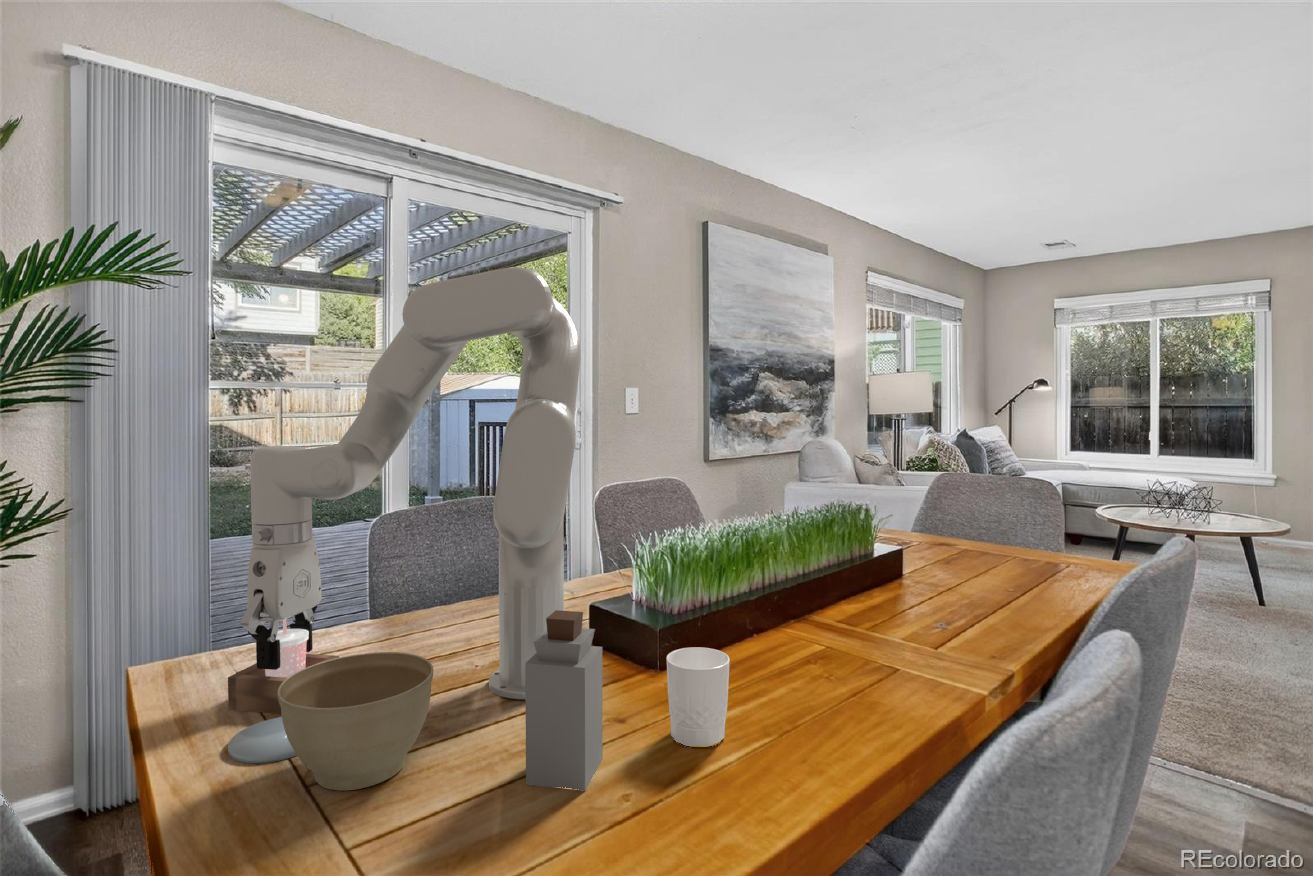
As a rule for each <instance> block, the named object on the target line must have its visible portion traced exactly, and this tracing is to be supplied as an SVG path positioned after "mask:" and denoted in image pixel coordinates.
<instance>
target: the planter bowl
mask: <svg viewBox="0 0 1313 876" xmlns="http://www.w3.org/2000/svg"><path fill="white" fill-rule="evenodd" d="M433 678H434V665H433V664H432V662H431V661H430V660H428V659H427V658H425V657H423V656H420V655H418V654H417V655H416V654H414V653H407V652H397V651H381V652H379V651H378V652H368V653H359V654H350V655H345V656H339V658H335V659H331V660H327V661H324V662H320V663H317V664H315V665H312V666H309V667H307V668H304V669H302V670H300V671H298V672H296V673H294V674H293V675H291V676H290V677H288V678H287V679H286V680H284V681H283V682H282V683H281V685H280V686H279V688H278V701H279V704H280V706H281V715H280V716H281V717H282V721H283V725H284V729H285V733H286V735H287V738H288V740H289V742H290V744H291V746H292V748H293V749H294V751H295V753H296V754H297V755H298V756H297V757H298V758H299V759H300V761H301V762H302V763H303V764H304V765H305V766H306V767H307V768H308V770H309V769H310V771H312V772H313V775H314V778H315V782H317V784H318V785H320V786H321V787H323V788H324V789H327V790H332V791H353V790H361V789H364V788H365V789H366V788H369V787H371V786H375V785H377V784H378V785H379V784H380V783H383V782H385V781H387V780H389V779H390V778H392V777H394V776H395V775H396V774H398V773H399V772H400V771H401V770H402V769H403V768H404V766H405V764H406V761H407V754H408V753H409V751H410V750H411V749H412V747H413V745H414V743H415V742H416V741H417V739H418V736H419V735H420V733H421V731H422V729H423V726H424V724H425V720H426V718H427V715H428V712H429V707H430V705H431V704H430V703H431V695H432V682H433Z"/></svg>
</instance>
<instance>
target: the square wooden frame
mask: <svg viewBox="0 0 1313 876" xmlns="http://www.w3.org/2000/svg"><path fill="white" fill-rule="evenodd" d="M339 657H340V655H329V654H315V653H314V654H312V653H306V666H305V668H307V667H309V666H312V665H315V664H317V663H320V662H324V661H327V660H331V659H335V658H339ZM286 679H287V677H271V676H266V673H265V669H258V668H257V662H255V663H254V664H251V665H250V666H247V667H246V668H244V669H242V670H240V671H238V672H236V673H234V674H231V675H230V676H228V677H227V695H228V697H227V698H228V699H227V700H228V704H227V705H228V711H236V712H237V711H238V712H251V713H265V714H281V706H280V704H279V701H278V688H279V686H280V685H281V683H282V682H283V681H284V680H286Z"/></svg>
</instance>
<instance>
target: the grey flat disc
mask: <svg viewBox="0 0 1313 876" xmlns="http://www.w3.org/2000/svg"><path fill="white" fill-rule="evenodd" d="M227 746H228V756H229V757H230V758H231V759H233V760H235V761H237V762H239V763H240V762H241V763H246V764H263V763H274V762H279V761H284V760H288V759H291V758H295V757H298V755H297V754H296V753H295V751H294V749H293V748H292V746H291V744H290V742H289V740H288V738H287V735H286V733H285V729H284V725H283V721H282V716H280V717H275V718H270V719H266V720H263V721H260V722H258V723H254V724H252V725H250V726H247V727H246V728H244V729H242V730H240V731H239V732H237V733H236V734H235V735H233V736H232V737H231V739H230V740H229V741H228V744H227Z"/></svg>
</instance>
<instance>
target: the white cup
mask: <svg viewBox="0 0 1313 876" xmlns="http://www.w3.org/2000/svg"><path fill="white" fill-rule="evenodd" d="M729 678H730V657H729V655H728V654H727V653H725V652H723V651H722V650H718V649H715V648H709V647H701V646H700V647H696V646H695V647H692V646H691V647H682V648H679V649H674V650H672V651H671V652H669V653H668V654H667V655H666V679H667V681H666V682H667V695H668V696H667V698H668V711H669V712H668V713H669V716H670V717H669V718H670V719H669V720H670V737H671V736H672V737H673V738H674V739H673V738H672V737H671V738H672V739H673V741H674V740H675V741H676V742H675V741H674V742H675V743H677V742H679V743H681V744H683V745H686V746H710V745H713V744H715V743H718V742H720V741H721V740H722V739H723V738H724V739H725V731H726V730H725V729H726V726H725V725H726V718H727V715H728V714H727V713H728V703H729V702H728V699H729V681H730V679H729ZM679 743H678V744H679ZM681 744H680V745H681ZM683 745H682V746H683ZM686 746H685V747H686Z"/></svg>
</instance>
